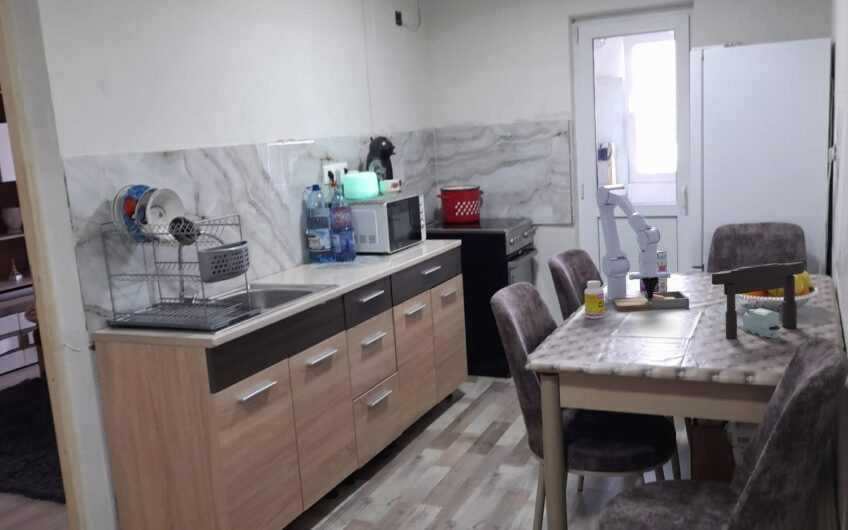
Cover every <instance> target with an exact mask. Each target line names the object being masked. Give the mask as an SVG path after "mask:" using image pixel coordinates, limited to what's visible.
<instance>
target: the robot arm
mask: <svg viewBox="0 0 848 530" xmlns="http://www.w3.org/2000/svg"><path fill="white" fill-rule="evenodd" d="M595 198H596V202H597V208H598V212H599V218H600V224H601V229H602V233H603V240H604V245H605V251H606V252H605V253H604V255H602V257H601V271H602V274H604V276H605V277H606V288H607V291H606V292H607V293H606V294H605V293H604V297H605V298H606V299H607V301H612V298H628V297H629V296H628V295H627V275H628V280H630V281H633V280H640V279H642V282H643V284H644V286H645V288H646V293H647V295H648V298H649V299H651V298H653V293H654V289H655V287H656V285H657V283H658V279H657V278H667V279H671V272H670V271H667V272H658V267H657V250H658V243H659V242H661V241H660V240H661V233H660V231H659V229H658V228H656V227H653V225H650V223H649V221H647V219H646V218H645V215H644V214H642V213H640V212H637V210H636V209H635V208H634V206H633V204H632V202H631V201H630V199H629V197H628V190H627V189H626V187H625V186H624V185H623V184H620V183H618V184H611V185H601V186H600V187H598V188H597V189H596V193H595ZM616 207H619V208H620V209H621V211H622V212H623V213H624V214H625V216H627V218H628V224H629V226H630V227H631V228H632V229H633V231H634V232H635V235H637V237H636V241H637V243H638V245H639V250H641V273H640V272H637V273H629V272H630V270H631V263H630V260H629V258H628V255H627V253H626V252H624V250H622V249H621V245H620V239H619V233H618V229H617V222H616V217H615V211H614V210H615V208H616Z"/></svg>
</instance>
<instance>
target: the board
mask: <svg viewBox="0 0 848 530" xmlns="http://www.w3.org/2000/svg"><path fill="white" fill-rule="evenodd" d="M611 301H612V305H613V306H614V308H615V309H616V311H617V312H618V311H620V312H633V311H634V312H638V311H653V310H652V304H651V303H650V302H649V301H648V300H647V299H646V298H645V296H633V297H631V296H630V297H629V296H628V298H612V300H611Z"/></svg>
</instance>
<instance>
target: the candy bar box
mask: <svg viewBox="0 0 848 530" xmlns="http://www.w3.org/2000/svg"><path fill="white" fill-rule="evenodd" d="M638 259H639V260H638V263H639V266H638V267H639V270H638V271H639V273H641V250H640V249H639V250H638ZM667 261H668V260H667V250H658V249H657V267H658V272H668V270H667V268H668V267H667V266H668V265H667ZM657 279H658V283H657V285H656V287H655V289H654V292H668V278H657ZM639 290H641V291H646V288H645V286H644V284H643V282H642V279H639ZM646 292H647V291H646Z"/></svg>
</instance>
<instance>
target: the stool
mask: <svg viewBox="0 0 848 530" xmlns="http://www.w3.org/2000/svg"><path fill="white" fill-rule="evenodd" d="M804 273H805V263H804V262H803V261H796V262H795V261H794V262H787V263H786V262H785V263H776V262H775V263H766V264H757V265H749V266H743V267H742V266H741V267H739V268H738V267H737V268H736V269H730V270H724V271H718V272H714V273H712V275H711V284H712V286H718V285H723V293H724V296H726V310H725V338H726V339H733V340H734V339H737V338H738V312H737V310H736V295H743V294H744V295H745V294H749V293H758V292H763V291H764V292H765V291H773V290H778V289H783V299H782V301H781V314H780V313H779V312H777V311H773V310H770V309H765V308H762V307H761V308H756V309H754V308H752V309H751V308H750V309H747V311H746V312H745V313H744V314H743V316H742V325H741V328H740V330H743V332H745V331H747V332H751V334H753V335H755V334H756V333H757V335H759V337H767V338H772V339H773V338H774V339H777V338H779V332H778V330H781V327H780V315H781V326H782V328H787V329H797V326H798V325H797V323H798V322H797V321H798V320H797V319H798V314H797V313H798V311H797V309H798V308H797V307H798V305H797V301H796V277H795V275H801V274H804Z"/></svg>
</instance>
